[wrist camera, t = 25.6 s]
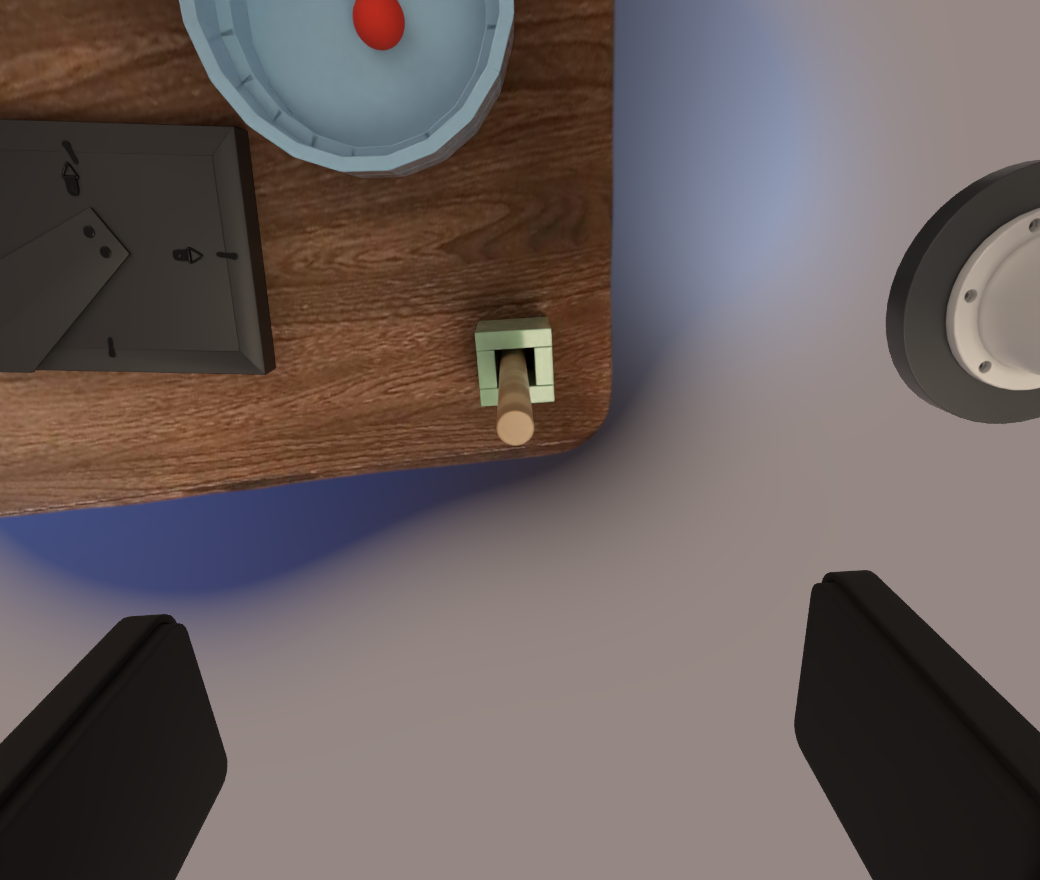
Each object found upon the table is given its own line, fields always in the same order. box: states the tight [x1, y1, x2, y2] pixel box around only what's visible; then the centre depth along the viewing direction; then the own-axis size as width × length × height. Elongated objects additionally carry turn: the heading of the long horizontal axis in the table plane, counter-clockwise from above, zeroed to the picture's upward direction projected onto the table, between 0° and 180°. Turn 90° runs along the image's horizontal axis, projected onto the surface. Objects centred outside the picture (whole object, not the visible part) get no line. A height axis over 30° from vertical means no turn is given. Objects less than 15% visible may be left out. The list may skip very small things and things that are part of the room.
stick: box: [496, 348, 534, 445], centre depth 36 cm, size 2×2×17 cm
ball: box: [352, 0, 405, 51], centre depth 35 cm, size 3×3×3 cm
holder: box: [475, 317, 554, 406], centre depth 42 cm, size 5×5×5 cm
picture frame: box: [0, 119, 276, 375], centre depth 40 cm, size 16×3×21 cm
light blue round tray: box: [179, 0, 514, 178], centre depth 34 cm, size 18×18×6 cm
